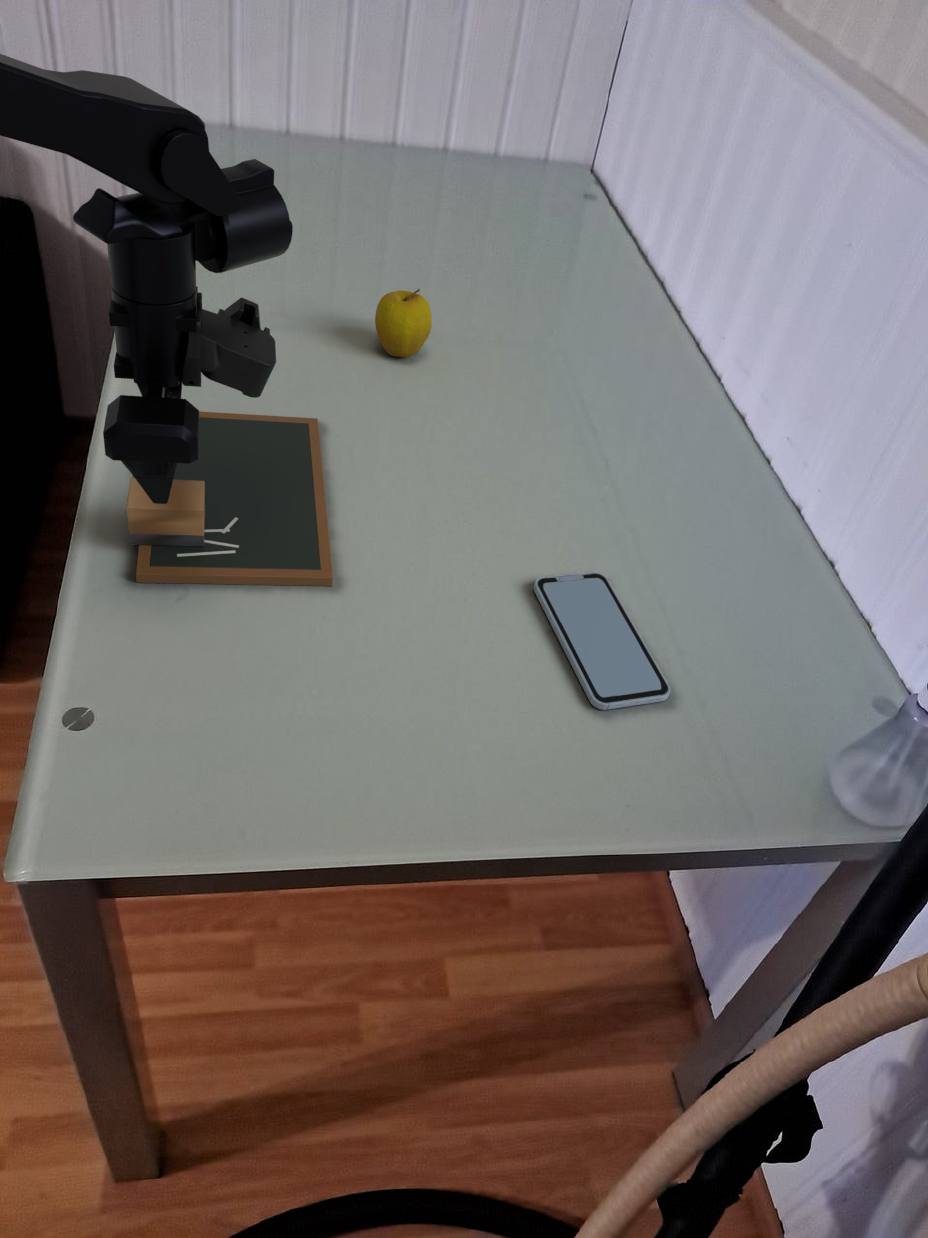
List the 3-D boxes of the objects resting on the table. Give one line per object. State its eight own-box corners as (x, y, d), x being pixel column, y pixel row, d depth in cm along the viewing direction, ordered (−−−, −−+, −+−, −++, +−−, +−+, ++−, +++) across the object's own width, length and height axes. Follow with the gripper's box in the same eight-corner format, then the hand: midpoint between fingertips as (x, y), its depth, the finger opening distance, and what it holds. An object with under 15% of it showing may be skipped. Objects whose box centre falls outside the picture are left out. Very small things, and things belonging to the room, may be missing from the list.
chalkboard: (136, 582, 79) (135, 573, 78) (154, 416, 95) (154, 408, 94) (332, 586, 83) (333, 577, 82) (316, 426, 99) (317, 417, 98)
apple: (436, 354, 114) (447, 290, 108) (405, 373, 109) (414, 308, 104) (393, 332, 116) (401, 269, 110) (360, 350, 111) (368, 285, 106)
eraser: (129, 545, 80) (126, 507, 78) (133, 514, 83) (130, 477, 80) (204, 546, 82) (203, 510, 79) (205, 516, 84) (204, 480, 82)
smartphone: (596, 706, 77) (531, 578, 86) (593, 713, 77) (529, 584, 87) (675, 694, 79) (603, 570, 89) (672, 701, 80) (601, 577, 89)
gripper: (274, 364, 63) (267, 545, 73) (268, 238, 75) (263, 408, 86) (93, 351, 60) (113, 541, 71) (118, 223, 73) (132, 400, 83)
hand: (163, 466), depth 78 cm, fingers open, 9 cm apart
